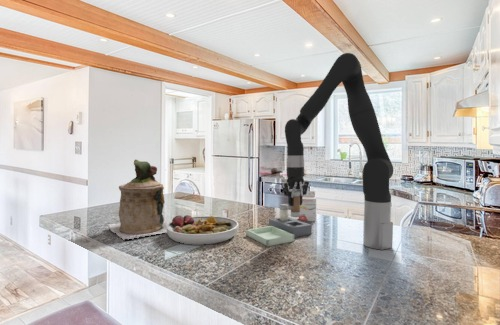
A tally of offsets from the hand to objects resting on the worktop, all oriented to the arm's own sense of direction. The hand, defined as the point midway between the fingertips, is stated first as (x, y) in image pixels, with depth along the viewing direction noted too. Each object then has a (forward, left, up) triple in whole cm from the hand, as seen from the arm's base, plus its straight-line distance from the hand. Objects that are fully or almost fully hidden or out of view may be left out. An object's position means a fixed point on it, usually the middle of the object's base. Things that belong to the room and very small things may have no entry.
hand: (295, 205), depth 129 cm
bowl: (+17, +36, -13) cm, 42 cm away
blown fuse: (0, 0, -5) cm, 5 cm away
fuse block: (+4, 0, -12) cm, 13 cm away
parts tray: (-1, +14, -12) cm, 19 cm away
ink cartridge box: (+15, -20, -12) cm, 28 cm away
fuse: (+8, 0, -12) cm, 15 cm away
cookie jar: (+38, +57, -13) cm, 70 cm away
